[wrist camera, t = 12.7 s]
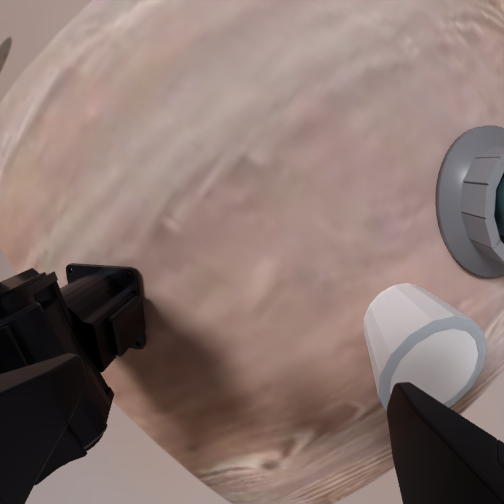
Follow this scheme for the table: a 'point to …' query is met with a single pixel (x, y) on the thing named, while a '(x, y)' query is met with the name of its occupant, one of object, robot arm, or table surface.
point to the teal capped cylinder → (499, 206)
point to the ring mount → (472, 200)
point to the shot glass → (422, 344)
